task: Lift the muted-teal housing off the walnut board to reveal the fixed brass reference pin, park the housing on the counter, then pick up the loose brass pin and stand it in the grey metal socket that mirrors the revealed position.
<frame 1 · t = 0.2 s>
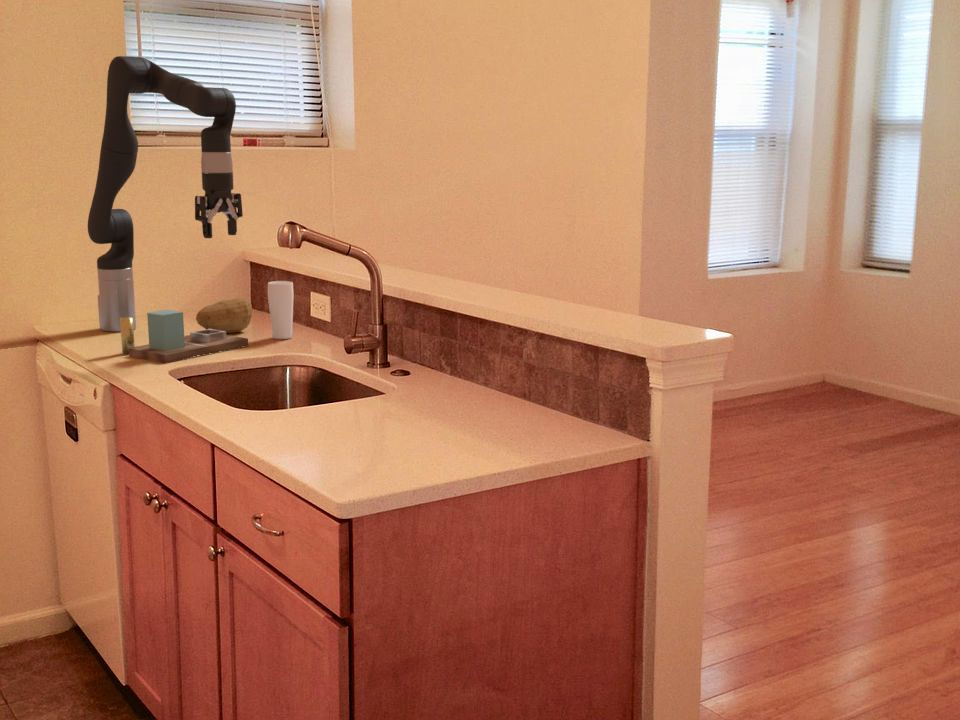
hand: (220, 236, 269), 29 cm above the worktop, fingers open, 8 cm apart
layout board: (190, 350, 272), on the worktop
pin: (128, 353, 269), on the worktop
drinking glass: (282, 338, 289), on the worktop
housing: (167, 347, 266), point 2 cm above the worktop, touching layout board
potato: (225, 333, 296), on the worktop
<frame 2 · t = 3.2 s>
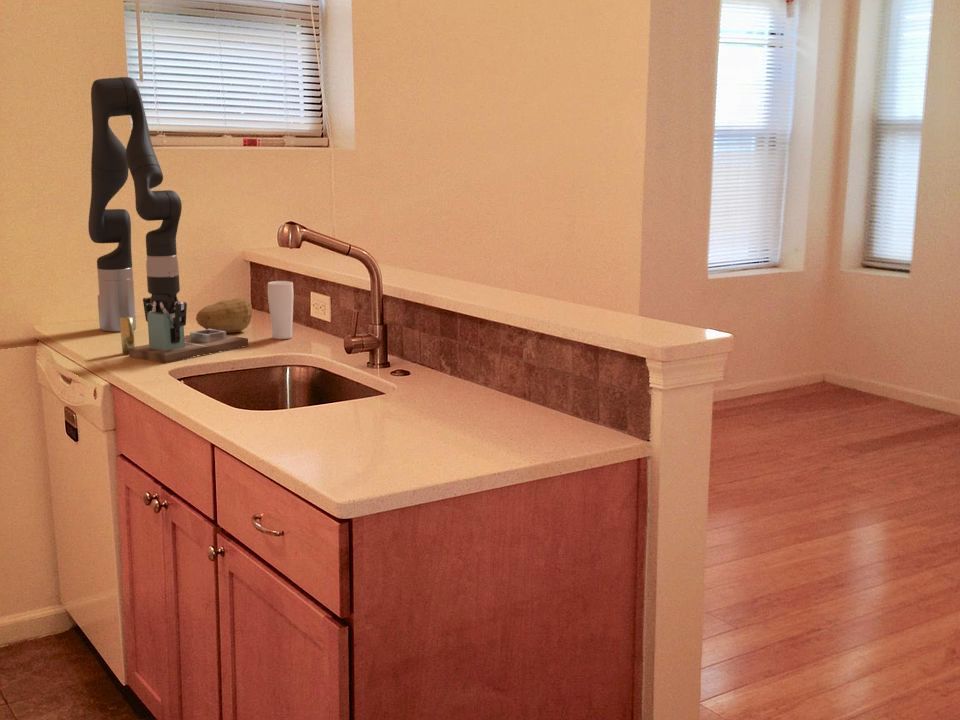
hand: (166, 341, 265), 4 cm above the worktop, fingers closed on housing, 6 cm apart
housing: (167, 347, 266), point 2 cm above the worktop, touching gripper, layout board
everything else where it was.
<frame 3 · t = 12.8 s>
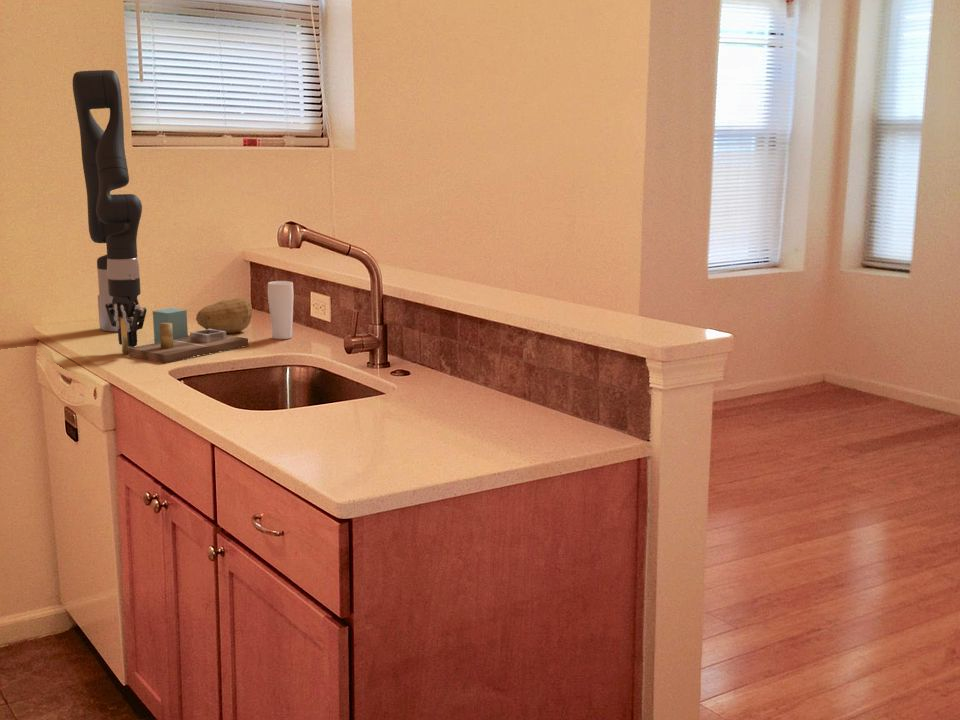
hand: (128, 344, 268), 2 cm above the worktop, fingers closed on pin, 3 cm apart
pin: (128, 353, 269), on the worktop, touching gripper
housing: (171, 344, 281), on the worktop
everything else where it was.
when the fingers open (5 cm above the worktop, at t = 18.3 s): pin stays where it is, resting on layout board.
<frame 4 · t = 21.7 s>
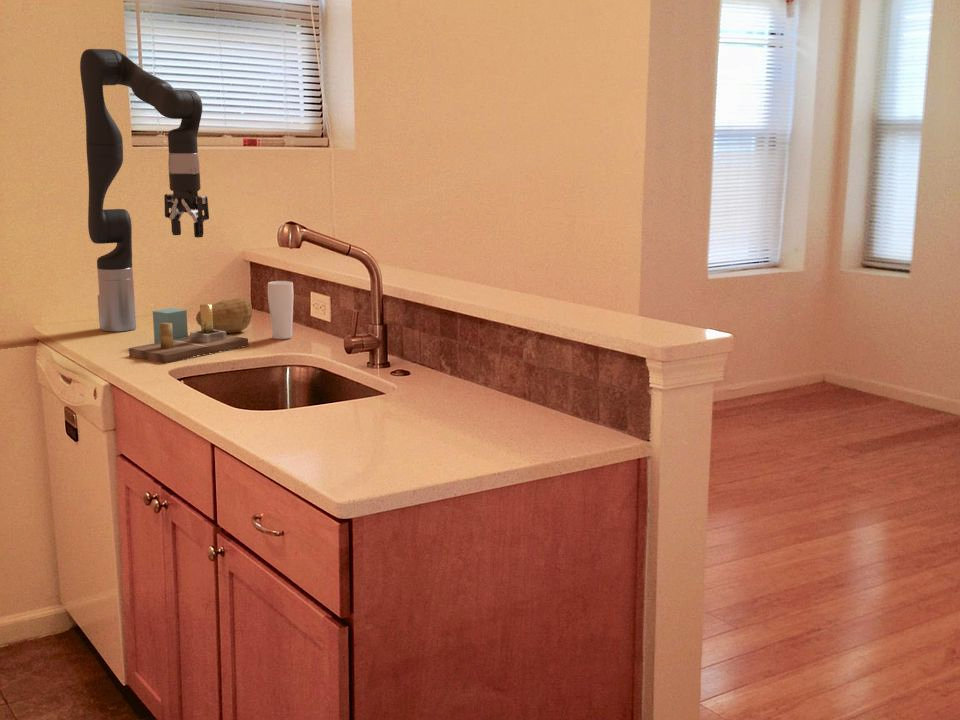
hand: (187, 236, 274), 28 cm above the worktop, fingers open, 8 cm apart
pin: (207, 339, 276), point 2 cm above the worktop, touching layout board
everything else where it was.
at the end: housing moved 15.1 cm from its start; pin 0.1 cm from the target spot on the layout board, point 2.0 cm above the layout board's base; pin tilted 0° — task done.
